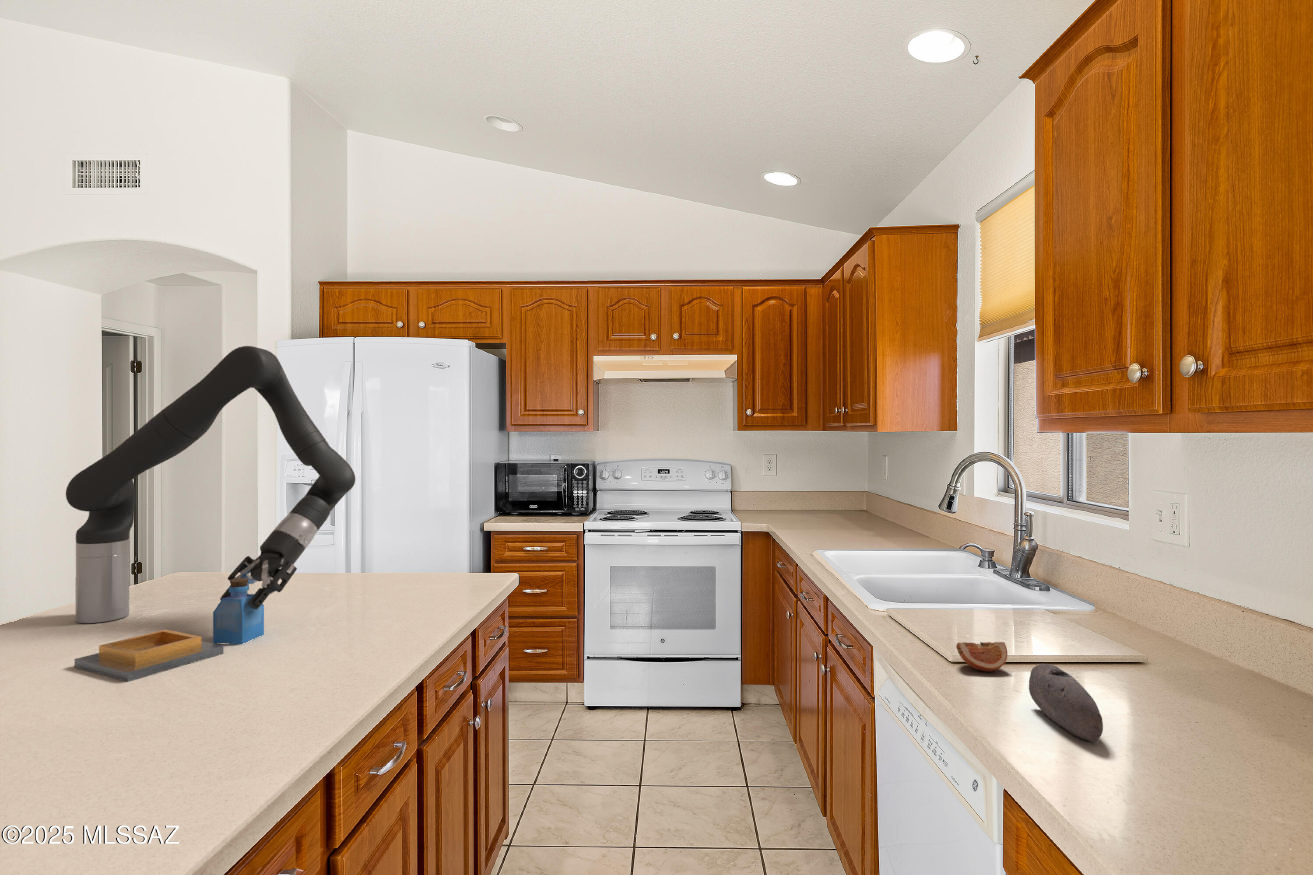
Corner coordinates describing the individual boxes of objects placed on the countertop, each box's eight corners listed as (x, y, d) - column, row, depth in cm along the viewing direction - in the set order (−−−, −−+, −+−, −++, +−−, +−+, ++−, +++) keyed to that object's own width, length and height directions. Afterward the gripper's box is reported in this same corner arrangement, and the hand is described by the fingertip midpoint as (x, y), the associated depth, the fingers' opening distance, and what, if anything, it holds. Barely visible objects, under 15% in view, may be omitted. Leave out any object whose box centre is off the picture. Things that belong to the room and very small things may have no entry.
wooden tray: (74, 667, 120) (74, 647, 120) (171, 642, 134) (171, 624, 134) (127, 681, 113) (127, 660, 113) (223, 653, 127) (223, 634, 127)
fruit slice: (964, 675, 118) (964, 646, 117) (949, 662, 124) (949, 635, 124) (1013, 676, 117) (1013, 647, 117) (995, 663, 124) (995, 636, 124)
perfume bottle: (263, 635, 139) (263, 576, 139) (242, 644, 133) (242, 583, 133) (235, 634, 140) (235, 576, 140) (213, 643, 133) (213, 582, 133)
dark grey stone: (1118, 752, 89) (1118, 699, 89) (1076, 750, 90) (1076, 698, 90) (1061, 706, 104) (1061, 661, 104) (1025, 705, 105) (1025, 660, 105)
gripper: (256, 526, 147) (201, 590, 136) (301, 530, 141) (248, 598, 131) (278, 547, 152) (227, 610, 141) (323, 552, 146) (274, 618, 135)
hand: (237, 604), depth 136 cm, fingers open, 8 cm apart
